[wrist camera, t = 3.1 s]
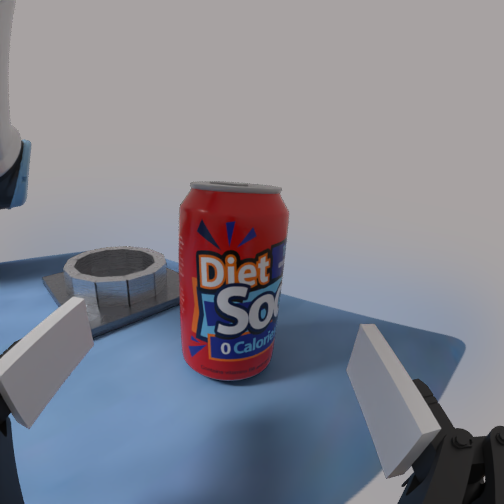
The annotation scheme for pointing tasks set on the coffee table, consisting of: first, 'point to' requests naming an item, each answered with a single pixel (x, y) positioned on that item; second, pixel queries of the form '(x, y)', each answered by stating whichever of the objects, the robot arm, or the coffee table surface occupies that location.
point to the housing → (116, 285)
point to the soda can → (230, 276)
